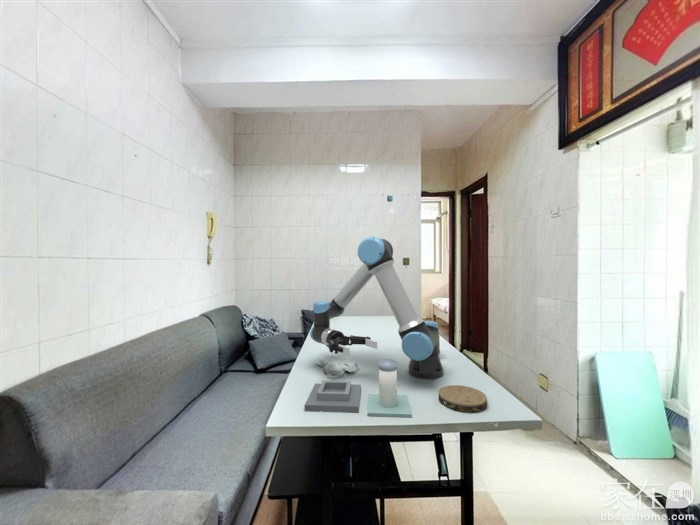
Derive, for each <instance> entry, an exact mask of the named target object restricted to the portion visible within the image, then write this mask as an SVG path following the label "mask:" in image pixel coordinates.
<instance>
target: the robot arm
mask: <svg viewBox="0 0 700 525" xmlns="http://www.w3.org/2000/svg"><path fill="white" fill-rule="evenodd" d="M393 255H394V248H393V245H392V244H391V243H390V241H388V240H387V239H384V238H381V237H377V236H368V237H365V238H364V239H362V240H361V241H360V243H359V245H358V248H357V256H358V258H359V260H360V262H362V264H361V265H360V267H359V268H358V269H357V270H356V271H355V273H354V274H353V275H352V276H351V277H350V278H349V280H348V281H347V282H346V283H345V284H344V286H342V288H341V289H340V290H339V292H338V293H337V294H336V295H335V296H334V297H333V299H332V300H331V301H330V302H329V301H328V300H317V301H314V302H313V304H312V306H313V307H312V314H313V316H312V318H313V327H312V328H311V329H310V331H309V332H310V333H309V336H310V338H311V340H313V341H314V342H316V343H318V344H322V345H324V346H326V347H327V348H328V350H329V352H330V353H334V354H339V353H340V354H343V355H345V356H351V350H350V349H351V348H350V347H349V346H353V345H360V346H361V345H364V346H366V347H369V348H372V349H376V350H377V349H378V341H376V340H374V339H371V337H369V336H357V335H349V336H347V335H345V334H344V333H343V332H342V331H340V330H337V329H332V328H331V326H330V324H331V323H330V322H331V321H330V320H331V319H334V318H337V317H340V316H342V315H343V313H344V311H345V308H347V307H348V305H349V304H350V303H351V302H352V301H353V299H355V297H356V296H357V295H358V294H359V292H361V290H362V289H363V288H364V287H365V286H366V284H368V282H369V281H370V280H371V279H372V277H373V276H374V277H375V279H376V281H377V283H378V284H379V286H380V289H381V291H382V292H383V295H384V297H385V299H386V302H387V304H388V305H389V308H390V309H391V312H392V315H394V318H395V320H396V322H397V324H398V326H399V328H398V330H397V332H398V335H399V338H400V339H401V350H402V351H403V353H404V356H406V357H407V358H409V359H410V360H409V363H408V367H407V368H408V374H410V375H411V376H413V377H416V378H420V379H427V378H432V379H438V378H441V377H442V376H443V375H444V368H443V365H442V362H441V357H440V358H439V342H440V331H439V330H440V327H439V323H438V322H437V321H433V320H432V321H431V320H424V319H423V318H420V317H419V316H418V315H417V314H418V313H417V312H416V310H415V308H414V306H413V304H412V302H411V300H410V297H409V296H408V293H407V291H406V290H405V288H404V286H403V284H402V282H401V280H400V278H399V275H398V274H397V272H396V270H395V268H394V263H395V260H394V258H393ZM438 331H439V332H438ZM440 376H441V377H440ZM437 377H438V378H437Z"/></svg>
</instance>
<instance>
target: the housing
mask: <svg viewBox="0 0 700 525" xmlns="http://www.w3.org/2000/svg"><path fill="white" fill-rule="evenodd" d="M361 393H362V384H356V383H355V384H352V381H351V380H350V381H349V380H348V381H347V380H322V381H321V383H314V386H312V389H311V390H310V394H309V395H308V397H307V399H306V401H305V403H304V412H320V411H323V412H322V413H327V412H328V413H356V414H357V413H359V412H360V402H361V400H360V399H361Z"/></svg>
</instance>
